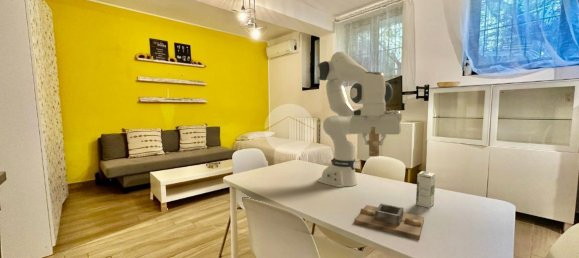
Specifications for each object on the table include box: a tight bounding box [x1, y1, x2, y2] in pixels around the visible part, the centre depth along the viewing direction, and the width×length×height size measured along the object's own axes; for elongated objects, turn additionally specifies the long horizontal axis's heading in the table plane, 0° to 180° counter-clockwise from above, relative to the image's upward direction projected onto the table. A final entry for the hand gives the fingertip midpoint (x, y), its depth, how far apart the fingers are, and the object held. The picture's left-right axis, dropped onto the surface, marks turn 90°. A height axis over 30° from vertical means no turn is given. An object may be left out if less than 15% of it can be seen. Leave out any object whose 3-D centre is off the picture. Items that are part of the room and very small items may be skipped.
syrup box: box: [415, 170, 436, 209], centre depth 108 cm, size 6×6×14 cm
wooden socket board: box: [353, 203, 425, 241], centre depth 94 cm, size 22×16×5 cm
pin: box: [368, 127, 380, 158], centre depth 101 cm, size 4×4×12 cm
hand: (374, 144), depth 101 cm, fingers closed on pin, 4 cm apart
